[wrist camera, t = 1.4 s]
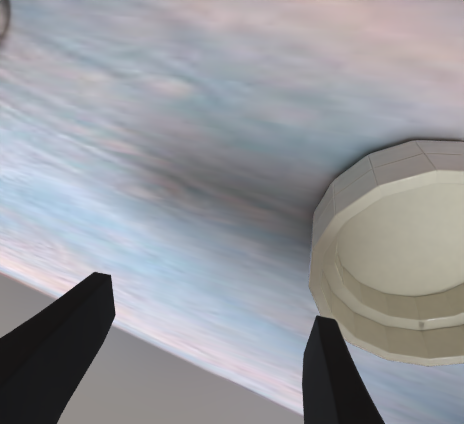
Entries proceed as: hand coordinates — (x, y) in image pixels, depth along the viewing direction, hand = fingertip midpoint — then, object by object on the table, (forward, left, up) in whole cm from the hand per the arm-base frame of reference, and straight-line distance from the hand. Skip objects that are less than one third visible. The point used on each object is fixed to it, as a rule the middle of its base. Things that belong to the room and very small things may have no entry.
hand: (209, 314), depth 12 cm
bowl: (-2, -9, -10) cm, 14 cm away
